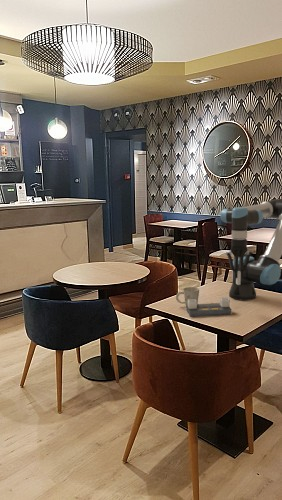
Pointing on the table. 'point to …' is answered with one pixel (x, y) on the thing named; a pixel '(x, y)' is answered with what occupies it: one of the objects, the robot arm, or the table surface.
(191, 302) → the toggle
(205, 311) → the console
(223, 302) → the toggle
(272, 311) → the table surface
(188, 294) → the mug
